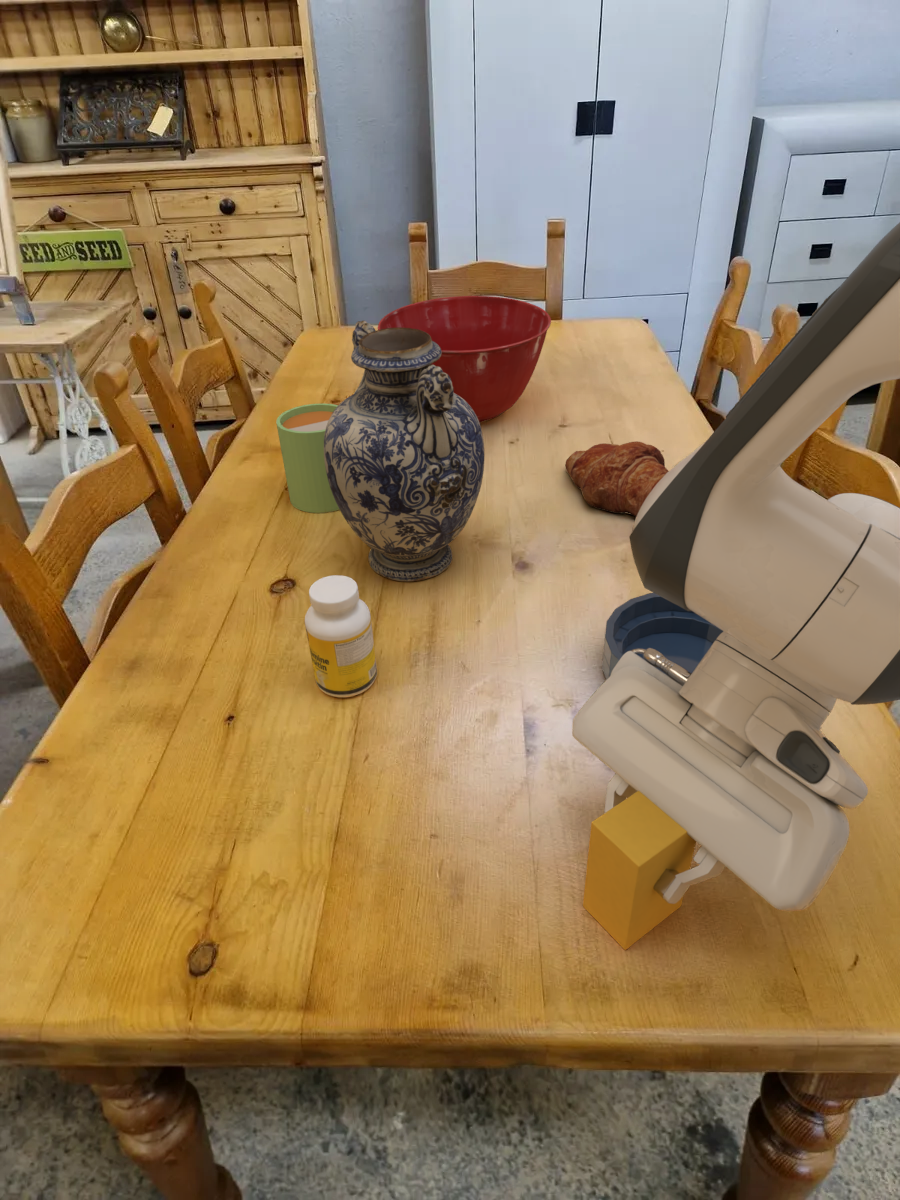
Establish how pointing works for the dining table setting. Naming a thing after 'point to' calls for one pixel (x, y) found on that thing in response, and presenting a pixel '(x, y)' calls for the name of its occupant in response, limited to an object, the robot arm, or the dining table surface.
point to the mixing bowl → (480, 345)
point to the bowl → (657, 632)
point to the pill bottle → (340, 637)
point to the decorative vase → (404, 454)
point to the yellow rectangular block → (633, 867)
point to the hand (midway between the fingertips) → (633, 867)
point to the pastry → (617, 475)
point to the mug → (306, 456)
